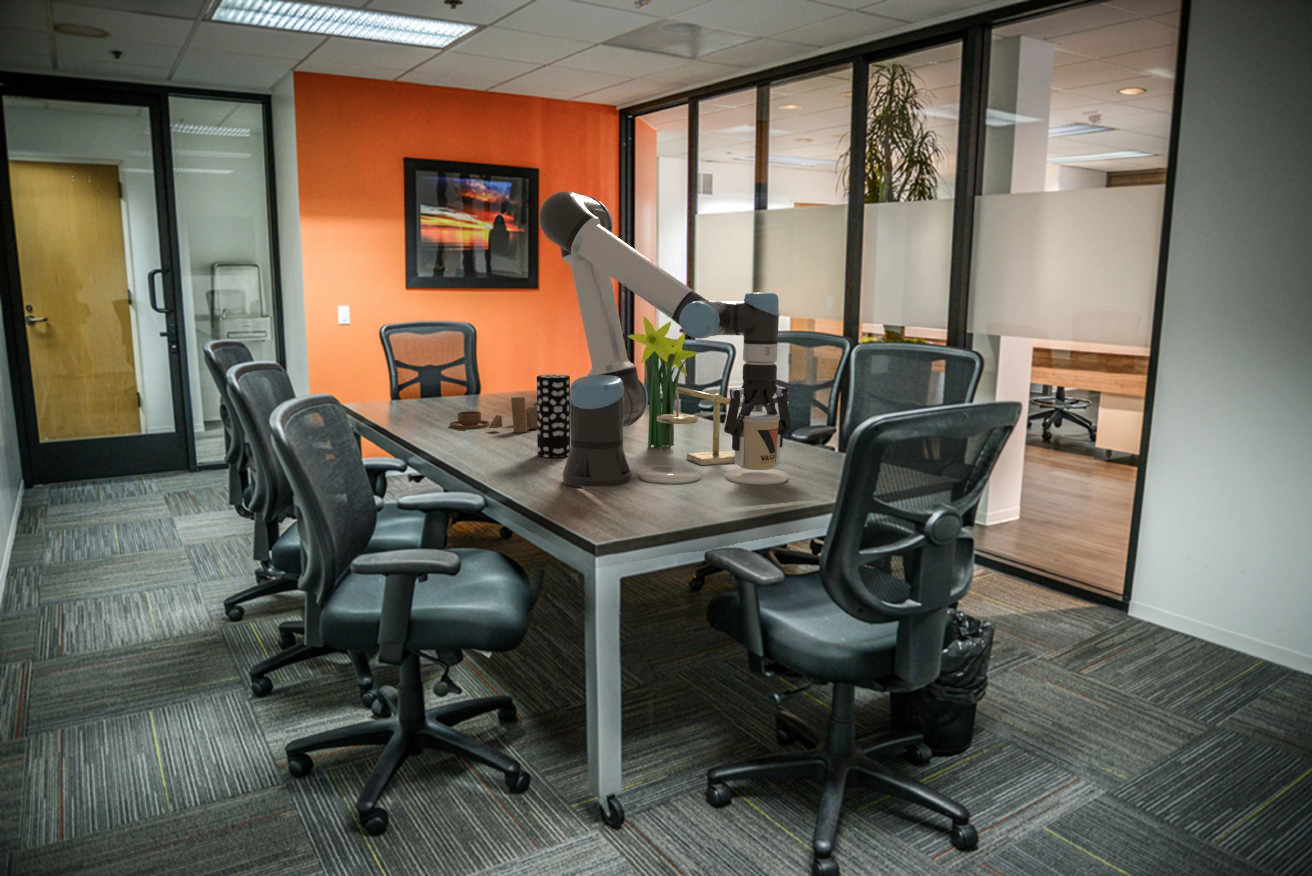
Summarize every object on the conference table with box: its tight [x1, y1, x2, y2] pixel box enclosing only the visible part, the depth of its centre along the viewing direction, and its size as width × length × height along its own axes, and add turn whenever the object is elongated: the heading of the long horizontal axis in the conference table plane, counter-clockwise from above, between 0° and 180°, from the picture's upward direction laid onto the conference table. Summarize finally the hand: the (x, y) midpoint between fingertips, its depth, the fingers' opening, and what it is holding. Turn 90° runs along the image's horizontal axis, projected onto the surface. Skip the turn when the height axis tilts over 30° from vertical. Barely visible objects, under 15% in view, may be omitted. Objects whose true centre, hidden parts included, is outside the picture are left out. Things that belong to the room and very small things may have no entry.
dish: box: [725, 467, 789, 486], centre depth 202 cm, size 14×14×1 cm
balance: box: [657, 386, 757, 466], centre depth 221 cm, size 31×10×19 cm, turn 114°
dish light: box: [638, 466, 701, 485], centre depth 202 cm, size 14×14×1 cm
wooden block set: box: [487, 396, 537, 434], centre depth 264 cm, size 18×9×10 cm, turn 131°
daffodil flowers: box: [627, 316, 699, 449], centre depth 236 cm, size 17×15×35 cm
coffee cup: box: [737, 411, 780, 470], centre depth 200 cm, size 9×9×12 cm
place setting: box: [449, 410, 491, 432], centre depth 271 cm, size 18×20×6 cm
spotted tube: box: [536, 374, 571, 458], centre depth 226 cm, size 8×8×20 cm
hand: (756, 463), depth 201 cm, fingers closed on coffee cup, 8 cm apart
